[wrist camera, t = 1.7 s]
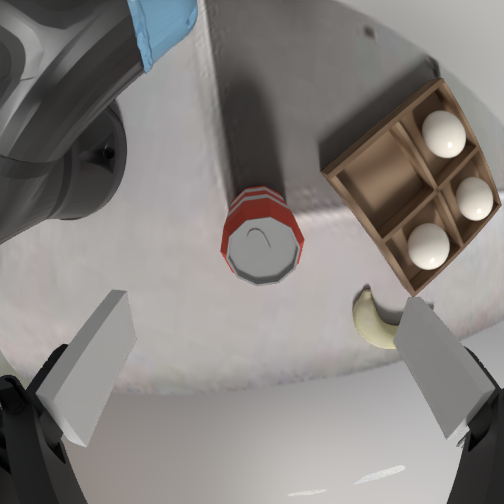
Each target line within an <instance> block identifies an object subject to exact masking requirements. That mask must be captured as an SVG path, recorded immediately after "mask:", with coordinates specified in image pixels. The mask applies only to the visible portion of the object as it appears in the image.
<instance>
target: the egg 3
mask: <svg viewBox="0 0 504 504" xmlns="http://www.w3.org/2000/svg"><path fill="white" fill-rule="evenodd" d="M456 203H457V206H458V209H459V210H460V212H461V213H462V214H463V215H464V216H465V217H466V218H468V219H470V220H475V221H477V220H481V219H484V218H485V217H486V216H487V215H488V214H489V213H490V211H491V209H492V206H493V195H492V192H491V189H490V187H489V186H488V184H487V183H486V182H485V181H483V180H482V179H480V178H478V177H468V178H466V179H464V180H463V181H462V182H461V183H460V184H459V186H458V188H457V191H456Z"/></svg>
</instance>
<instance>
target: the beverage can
mask: <svg viewBox="0 0 504 504" xmlns="http://www.w3.org/2000/svg"><path fill="white" fill-rule="evenodd" d="M303 243H304V238H303V235H302V233H301V231H300V229H299V226H298V224H297V222H296V220H295V218H294V216H293V214H292V212H291V211H290V209H289V207H288V206H287V204H286V202H285V201H284V199H283V197H282V196H281V194H280V193H278V192H276V191H274V190H272V189H270V188H268V187H266V186H264V185H263V186H256V187H249V188H245V189H244V190H243V191H242V192H241V193H240V194H239V195H238V196H237V197H236V198H235V199H234V200H233V201H232V203H231V206H230V209H229V212H228V215H227V219H226V222H225V225H224V229H223V236H222V244H221V253H222V255H223V257H224V258H225V260H226V262H227V264H228V265H229V267H230V269H231V270H232V272H233V273H235V275H236V276H237V277H238V278H240V279H242V280H244V281H246V282H248V283H251V284H253V285H255V286H263V285H270V284H277V283H280V282H281V281H282V280H283V279H284V278H286V277H287V276H288V275H289V274H290V273H291V272H293V271H294V270H295V269H296V265H297V264H298V263H299V260H300V256H301V252H302V248H303Z"/></svg>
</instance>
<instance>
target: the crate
mask: <svg viewBox="0 0 504 504" xmlns="http://www.w3.org/2000/svg"><path fill="white" fill-rule="evenodd" d="M440 110H442V111H447V112H450V113H452V114H453V115H455V116H456V117H457V118H458V119H459V120H460V122H461V123H462V125H463V127H464V129H465V133H466V142H465V146H464V148H463V150H462V151H461V152H460V153H459V154H458V155H457V156H455V157H452V158H443V157H440V156H437V155H435V154H434V153H433V152H431V151H430V150H429V148H428V147H427V146H426V144H425V142H424V139H423V136H422V125H423V122H424V120H425V118H426V117H427V116H428V115H429V114H430V113H432V112H434V111H440ZM321 173H322V174H323V176H324V177H325V178H326V179H327V181H328V182H329V183H330V184H331V186H332V187H333V188H334V189H335V191H336V192H337V193H338V194H339V196H340V197H341V198H342V199H343V201H344V202H345V203H346V205H347V206H348V207H349V209H350V210H351V211H352V213H353V214H354V215H355V217H356V218H357V219H358V221H359V222H360V223H361V225H362V226H363V227H364V229H365V230H366V232H367V233H368V234H369V236H370V237H371V239H372V240H373V241H374V243H375V244H376V246H377V247H378V249H379V250H380V252H381V253H382V255H383V256H384V258H385V259H386V261H387V262H388V264H389V265H390V267H391V268H392V270H393V271H394V273H395V274H396V276H397V277H398V279H399V281H400V282H401V284H402V285H403V287H404V288H405V289H406V290H407V291H408V292H409V294H410V295H411V296H412V297H414V296H416V295H417V294H418V293H419V292H420V291H421V290H422V289H423V288H425V287H426V286H427V285H428V284H429V283H430V282H431V281H432V280H433V279H434V278H435V277H436V276H437V275H439V274H440V273H441V272H442V271H443V270H444V269H445V268H446V267H447V266H448V265H449V264H450V263H451V262H452V261H453V260H454V259H455V258H456V257H457V256H458V255H459V254H460V253H461V252H462V250H463V249H464V248H465V247H466V246H467V245H468V244H469V243H470V242H471V241H472V240H473V239H474V238H475V236H476V235H477V234H478V233H479V232H480V231H481V230H482V228H483V227H484V226H485V225H486V224H487V223H488V221H489V220H490V219H491V218H492V217H493V215H494V214H495V213H496V212H497V211H498V209H499V208H500V207H501V201H500V198H499V195H498V192H497V189H496V186H495V183H494V180H493V178H492V175H491V172H490V170H489V167H488V164H487V162H486V159H485V157H484V155H483V152H482V150H481V148H480V146H479V143H478V141H477V139H476V137H475V135H474V133H473V131H472V129H471V127H470V125H469V123H468V121H467V119H466V117H465V115H464V113H463V111H462V109H461V108H460V106H459V104H458V102H457V101H456V99H455V97H454V96H453V94H452V92H451V91H450V89H449V87H448V86H447V84H446V83H445V81H444V79H443V78H438V79H434V80H430V81H428V82H427V83H426V84H424V85H423V86H422V87H421V88H420V89H418V90H417V91H416V92H415V93H414V94H412V95H411V96H410V97H409V98H407V99H406V100H405V101H404V102H403V103H401V104H400V105H399V106H398V107H397V108H395V109H394V110H393V111H392V112H391V113H389V114H388V115H387V116H386V117H385V118H383V119H382V120H381V121H380V122H379V123H377V124H376V125H375V126H374V127H373V128H372V129H370V130H369V131H368V132H367V133H366V134H364V135H363V136H362V137H361V138H360V139H358V140H357V141H356V142H355V143H354V144H353V145H351V146H350V147H349V148H348V149H347V150H346V151H344V152H343V153H342V154H341V155H340V156H339V157H337V158H336V159H335V160H334V161H333V162H331V163H330V164H329V165H328V166H327V167H326V168H325V169H323V170H322V171H321ZM468 177H478V178H480V179H482V180H483V181H485V182H486V183H487V184H488V186H489V187H490V189H491V192H492V195H493V206H492V209H491V211H490V213H489V214H488V215H487V216H486V217H485V218H484V219H481V220H477V221H475V220H470V219H468V218H466V217H465V216H464V215H463V214H462V213H461V212H460V210H459V209H458V206H457V203H456V191H457V188H458V186H459V184H460V183H461V182H462V181H463V180H464V179H466V178H468ZM424 223H433V224H436V225H438V226H439V227H441V228H442V229H443V230H444V231H445V233H446V234H447V237H448V239H449V245H450V247H449V254H448V256H447V258H446V260H445V262H444V263H443V264H442V265H440V266H439V267H437V268H435V269H430V270H426V269H422V268H420V267H418V266H417V265H415V264H414V263H413V261H412V260H411V258H410V256H409V254H408V249H407V244H408V239H409V236H410V234H411V232H412V231H413V230H414V229H415V228H416V227H417V226H419V225H421V224H424Z"/></svg>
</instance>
